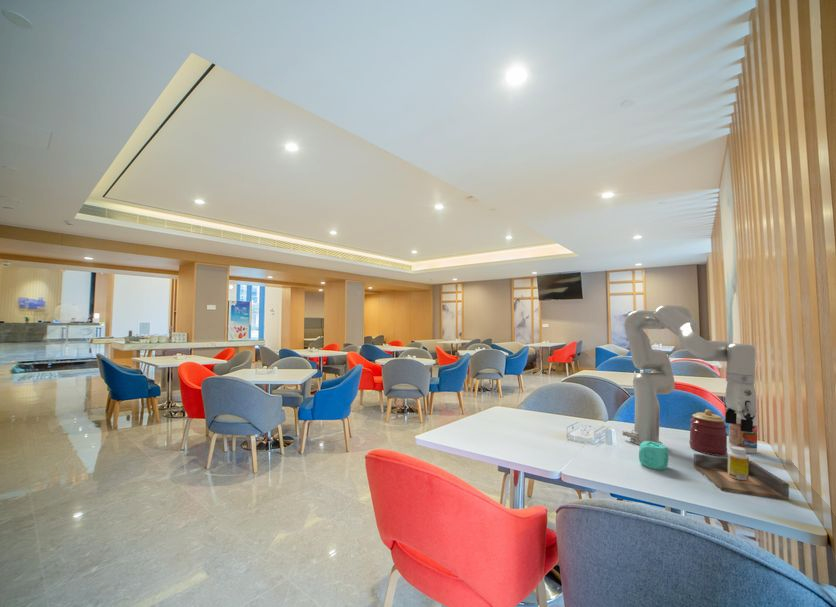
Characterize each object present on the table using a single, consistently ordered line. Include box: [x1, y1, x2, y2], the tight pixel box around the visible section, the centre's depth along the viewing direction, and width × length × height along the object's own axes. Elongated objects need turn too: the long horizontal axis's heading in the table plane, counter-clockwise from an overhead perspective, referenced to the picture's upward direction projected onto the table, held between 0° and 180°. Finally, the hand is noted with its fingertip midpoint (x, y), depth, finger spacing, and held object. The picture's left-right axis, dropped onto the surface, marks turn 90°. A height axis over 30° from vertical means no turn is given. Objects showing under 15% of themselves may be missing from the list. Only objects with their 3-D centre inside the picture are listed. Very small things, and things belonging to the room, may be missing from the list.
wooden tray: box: [693, 453, 790, 501], centre depth 128 cm, size 18×20×5 cm
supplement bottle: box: [727, 446, 750, 480], centre depth 129 cm, size 6×6×10 cm
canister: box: [689, 409, 729, 456], centre depth 160 cm, size 13×13×18 cm
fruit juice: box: [728, 405, 758, 455], centre depth 163 cm, size 9×9×28 cm
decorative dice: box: [638, 441, 669, 471], centre depth 139 cm, size 8×8×8 cm
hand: (738, 427), depth 130 cm, fingers open, 9 cm apart
